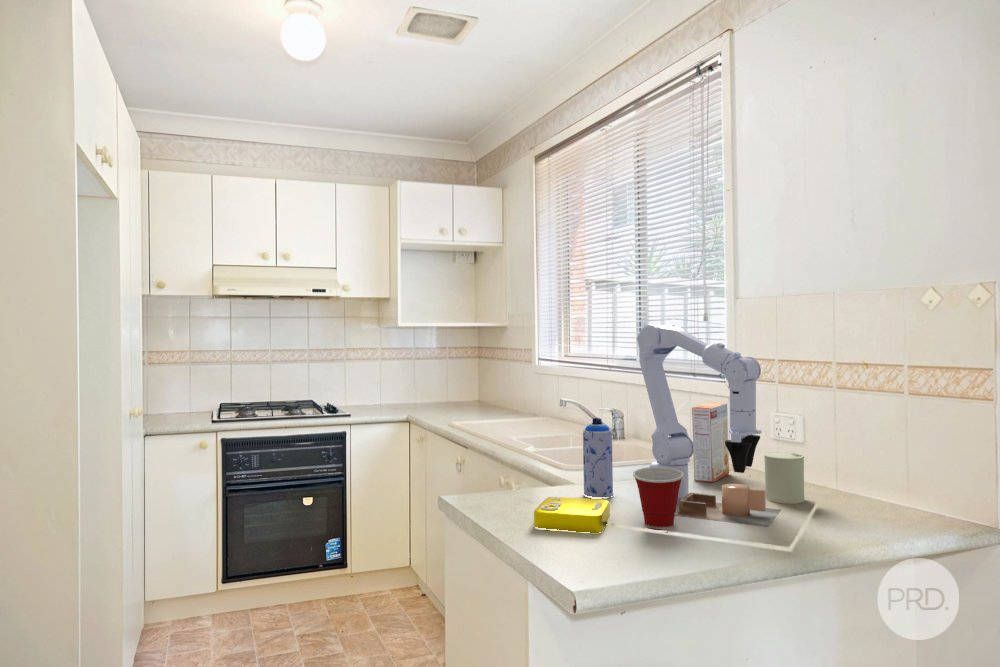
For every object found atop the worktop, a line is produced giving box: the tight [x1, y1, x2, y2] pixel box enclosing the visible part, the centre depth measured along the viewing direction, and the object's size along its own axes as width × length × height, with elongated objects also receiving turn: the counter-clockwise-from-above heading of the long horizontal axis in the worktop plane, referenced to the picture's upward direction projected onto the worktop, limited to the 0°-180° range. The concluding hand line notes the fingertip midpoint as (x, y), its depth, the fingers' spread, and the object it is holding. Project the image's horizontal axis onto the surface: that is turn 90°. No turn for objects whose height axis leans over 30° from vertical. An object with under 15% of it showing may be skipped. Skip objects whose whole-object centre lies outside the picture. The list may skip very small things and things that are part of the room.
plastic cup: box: [632, 466, 684, 531], centre depth 153 cm, size 11×11×12 cm
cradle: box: [675, 492, 782, 528], centre depth 161 cm, size 16×20×3 cm
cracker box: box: [691, 401, 730, 483], centre depth 203 cm, size 14×6×21 cm, turn 144°
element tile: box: [533, 496, 611, 534], centre depth 158 cm, size 15×15×5 cm
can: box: [763, 451, 806, 505], centre depth 173 cm, size 9×9×12 cm
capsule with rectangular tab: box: [721, 483, 767, 517], centre depth 160 cm, size 6×9×6 cm, turn 59°
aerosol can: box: [582, 417, 614, 497], centre depth 183 cm, size 8×8×20 cm
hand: (743, 469), depth 163 cm, fingers open, 7 cm apart
